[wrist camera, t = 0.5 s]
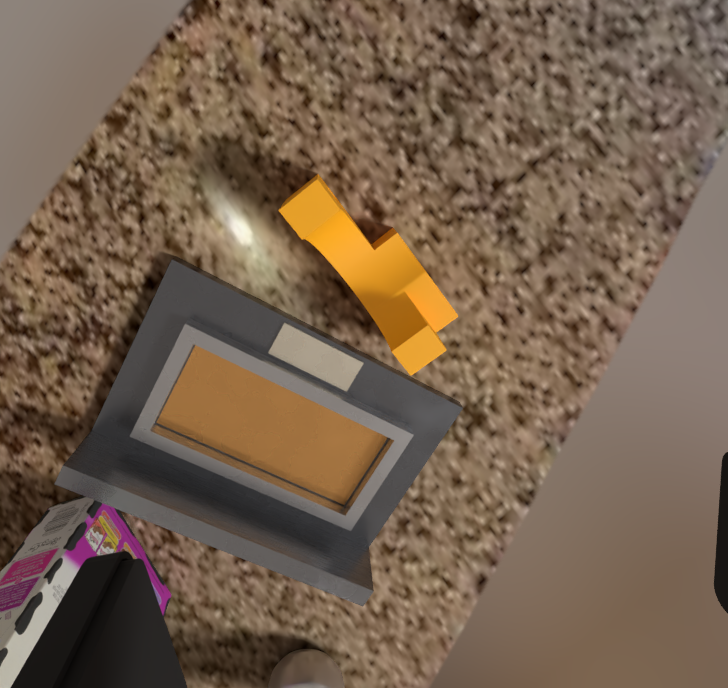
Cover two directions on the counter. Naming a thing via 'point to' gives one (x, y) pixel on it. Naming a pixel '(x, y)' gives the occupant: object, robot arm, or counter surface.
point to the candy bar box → (58, 572)
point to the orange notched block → (375, 274)
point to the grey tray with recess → (258, 434)
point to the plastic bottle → (306, 671)
